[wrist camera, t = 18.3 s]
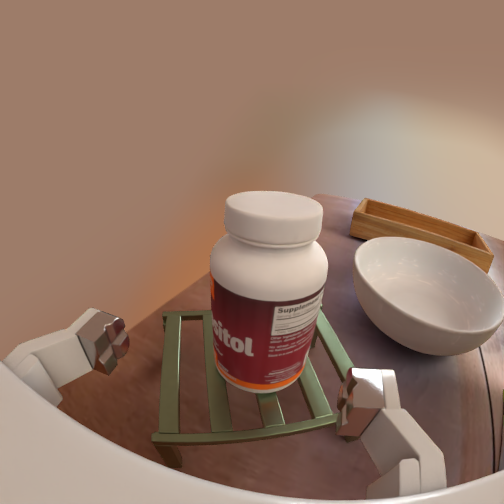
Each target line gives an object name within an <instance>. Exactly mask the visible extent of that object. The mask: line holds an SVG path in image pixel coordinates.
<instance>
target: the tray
mask: <svg viewBox="0 0 504 504" xmlns="http://www.w3.org/2000/svg"><path fill="white" fill-rule="evenodd" d="M350 235H351V236H355V237H358V238H362V239H366V240H371V239H374V238H380V237H403V238H411V239H416V240H421V241H425V242H428V243H432V244H435V245H437V246H440V247H443V248H445V249H448V250H450V251H452V252H454V253H457V254H458V255H460V256H462V257H464V258H466V259H467V260H469V261H470V262H472V263H474V264H475V265H476V266H478V267H479V268H480V269H482V270H483V271H484V272H485V273H486V274H487V273H488V271H489V268H490V266H491V263H492V260H493V258H494V255H493V253H492V252H491V250H490V249H489V247H488V246H487V244H486V243H485V242H484V240H483V239H482V237H481V236H480V235H479V233H478V232H475V231H473V230H470V229H467V228H464V227H461V226H458V225H455V224H453V223H450V222H447V221H443V220H440V219H437V218H434V217H431V216H428V215H425V214H422V213H418V212H415V211H412V210H408V209H405V208H401V207H398V206H394V205H391V204H387V203H383V202H379V201H376V200H372V199H368V198H364V199H363V200H362V202H361V203H360V204H359V205H358V207H357V208H356V209H355V211H354V213H353V218H352V223H351V228H350Z"/></svg>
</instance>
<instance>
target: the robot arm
mask: <svg viewBox="0 0 504 504" xmlns="http://www.w3.org/2000/svg"><path fill="white" fill-rule="evenodd" d="M124 328H125V324H124V321H123V319H121V318H119V317H116V316H114V315H111V314H108V313H106V312H103V311H100V310H98V309H95V308H89V309H88V310H87V311H86V312H85V313H83V314H82V315H81V316H80V317H79V318H78V319H77V320H76V321H75V322H74V323H73V324H72V325H71V326H70V327H69V328H68V329H66V330H65V329H62V330H59V331H56V332H53V333H50V334H47V335H44V336H41V337H38V338H36V339H32V340H29V341H26V342H23V343H20V344H19V345H18V346H17V347H16V348H15V349H14V350H13V351H12V352H11V353H10V354H9V355H8V356H7V357H6V358H5V359H4V360H3V361H2V362H1V361H0V504H504V470H501V471H499V472H496V473H494V474H491V475H488V476H485V477H483V478H480V479H477V480H474V481H470V482H467V483H464V484H460V485H457V486H453V487H449V488H447V482H446V471H445V462H444V454H443V453H442V451H441V450H440V449H439V448H438V447H437V446H436V444H435V443H434V442H433V441H432V440H431V439H430V437H429V436H428V435H427V434H426V433H425V432H424V430H423V429H422V428H421V427H420V426H419V425H418V424H417V422H416V421H415V420H414V419H413V418H412V417H411V416H410V414H409V413H408V412H407V411H406V410H405V409H401V406H400V400H399V393H398V387H397V382H396V376H395V372H394V370H389V369H374V368H359V367H350V368H349V369H348V371H347V374H346V381H344V382H343V383H342V385H341V387H340V390H339V394H338V400H337V408H338V410H339V411H340V413H339V415H338V417H337V419H336V435H345V436H360V437H359V438H360V440H361V441H362V443H363V445H364V447H365V448H366V450H367V452H368V454H369V455H370V457H371V459H372V461H373V462H374V464H375V466H376V468H377V469H378V471H379V473H380V474H381V477H379V478H378V479H377V480H375V481H374V482H372V483H371V484H370V485H369V486H367V490H366V500H315V499H301V498H291V497H283V496H276V495H269V494H263V493H257V492H252V491H247V490H242V489H238V488H233V487H229V486H225V485H221V484H217V483H214V482H210V481H207V480H203V479H200V478H197V477H194V476H190V475H187V474H185V473H182V472H179V471H176V470H173V469H171V468H168V467H165V466H163V465H160V464H158V463H155V462H153V461H151V460H148V459H146V458H144V457H142V456H139V455H137V454H135V453H133V452H131V451H129V450H127V449H125V448H123V447H121V446H119V445H117V444H115V443H113V442H111V441H109V440H107V439H105V438H104V437H102V436H100V435H98V434H97V433H95V432H93V431H91V430H90V429H88V428H86V427H85V426H83V425H82V424H80V423H78V422H77V421H75V420H74V419H72V418H71V417H69V416H68V415H66V414H65V413H63V412H62V411H60V410H59V409H58V408H56V407H57V406H58V405H59V403H60V402H61V401H62V399H63V398H62V395H61V394H60V392H59V391H58V389H57V388H59V387H61V386H63V385H65V384H67V383H69V382H71V381H73V380H75V379H76V378H78V377H80V376H82V375H84V374H86V373H88V372H90V371H91V370H93V369H94V370H97V371H99V372H101V373H103V374H106V375H108V376H109V375H110V374H111V372H112V371H113V370H114V368H115V367H116V366H117V365H118V364H117V359H120V358H122V357H124V356H125V354H126V353H127V351H128V348H129V337H128V334H127V333H126V332H125V331H124Z"/></svg>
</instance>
